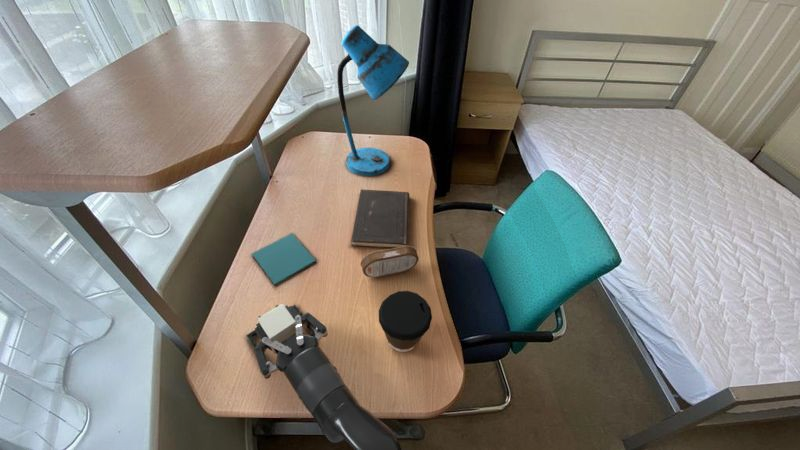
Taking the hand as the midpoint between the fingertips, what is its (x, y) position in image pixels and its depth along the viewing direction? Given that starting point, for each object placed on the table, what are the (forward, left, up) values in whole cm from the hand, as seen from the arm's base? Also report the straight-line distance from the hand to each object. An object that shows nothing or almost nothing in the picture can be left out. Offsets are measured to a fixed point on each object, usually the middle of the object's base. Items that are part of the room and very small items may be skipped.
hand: (272, 316), depth 67 cm
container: (0, -3, -7) cm, 7 cm away
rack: (0, -1, -8) cm, 8 cm away
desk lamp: (+58, +39, -8) cm, 71 cm away
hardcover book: (+41, +14, -8) cm, 44 cm away
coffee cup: (+20, -19, -8) cm, 29 cm away
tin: (+30, -3, -8) cm, 31 cm away
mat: (+11, +19, -8) cm, 24 cm away
